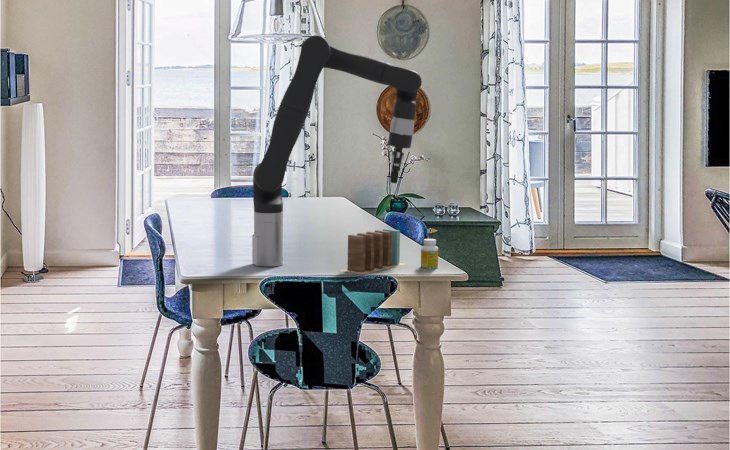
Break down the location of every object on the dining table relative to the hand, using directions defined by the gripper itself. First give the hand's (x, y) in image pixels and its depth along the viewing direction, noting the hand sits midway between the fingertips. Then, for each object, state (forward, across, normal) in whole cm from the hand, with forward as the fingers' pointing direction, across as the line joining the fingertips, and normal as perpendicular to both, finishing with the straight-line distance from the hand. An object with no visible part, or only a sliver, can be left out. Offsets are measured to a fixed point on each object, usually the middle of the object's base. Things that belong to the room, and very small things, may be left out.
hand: (393, 181), depth 278 cm
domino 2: (+26, +19, -5) cm, 33 cm away
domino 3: (+26, +15, -2) cm, 30 cm away
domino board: (+27, +16, -2) cm, 31 cm away
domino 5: (+26, +8, +3) cm, 27 cm away
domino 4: (+26, +12, +1) cm, 28 cm away
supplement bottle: (+25, +14, +15) cm, 32 cm away
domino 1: (+26, +23, -8) cm, 35 cm away
